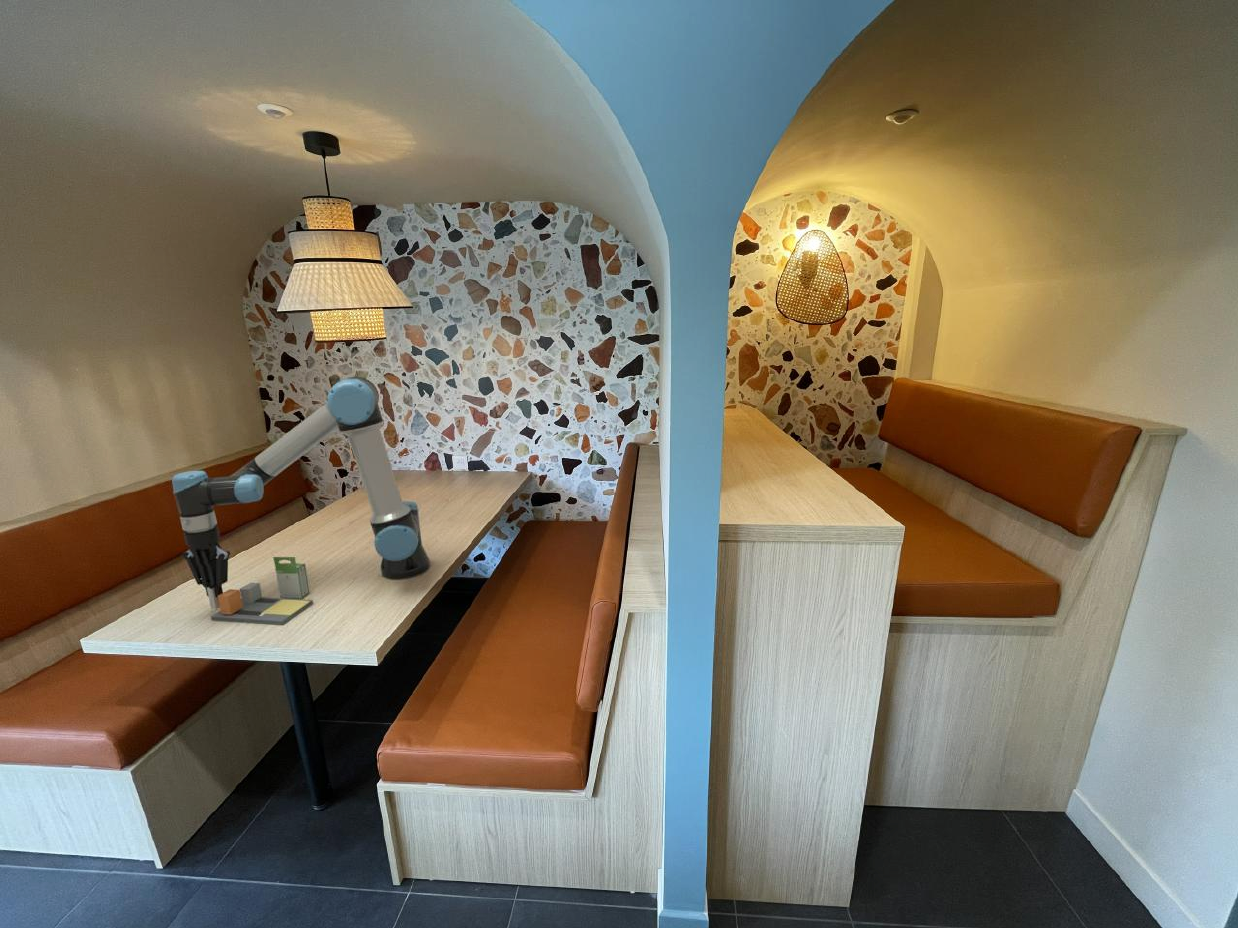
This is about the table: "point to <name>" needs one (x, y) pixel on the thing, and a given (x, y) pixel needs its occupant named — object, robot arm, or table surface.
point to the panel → (257, 608)
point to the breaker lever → (230, 601)
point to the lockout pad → (285, 607)
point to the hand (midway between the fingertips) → (217, 606)
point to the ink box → (291, 578)
